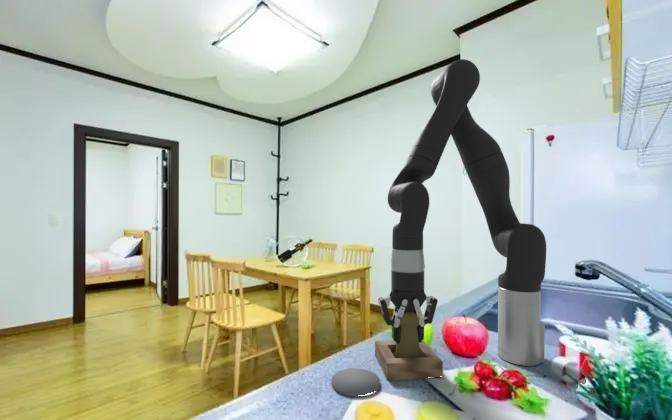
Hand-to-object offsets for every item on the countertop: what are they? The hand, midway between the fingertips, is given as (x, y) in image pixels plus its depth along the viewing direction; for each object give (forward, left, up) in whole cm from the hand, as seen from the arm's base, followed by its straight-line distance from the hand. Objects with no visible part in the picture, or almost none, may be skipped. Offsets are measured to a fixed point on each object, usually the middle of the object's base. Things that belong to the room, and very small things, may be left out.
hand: (407, 341), depth 76 cm
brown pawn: (0, 0, -4) cm, 4 cm away
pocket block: (0, 0, -6) cm, 6 cm away
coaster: (+13, +7, -6) cm, 16 cm away
